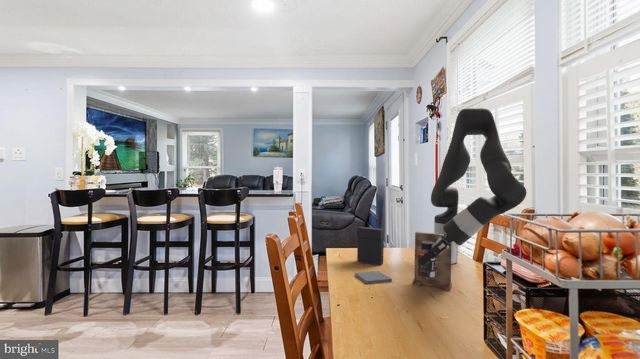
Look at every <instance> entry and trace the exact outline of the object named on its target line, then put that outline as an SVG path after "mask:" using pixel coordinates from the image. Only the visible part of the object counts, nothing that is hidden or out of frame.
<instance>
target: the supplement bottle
mask: <svg viewBox="0 0 640 359" xmlns="http://www.w3.org/2000/svg"><path fill="white" fill-rule="evenodd" d="M433 244H434V242H430V241H422V242H421V246H422V247H421V248H420V249H419V250H418V259H419V258H421V257H422V256H423V255H424V254H425V253H426V252H427V251H429V250H430V249H431V246H432V245H433ZM431 252H432V253H433V254H435V253H436V252H435V251H434V250H432V251H431ZM437 261H438V255H437V256H436V257H435V258H433V259H430V260H429V261H428V262H427V263H426V264H424V265H421V264H420V263H419V262H418V277H419V278H421V279H425V280H435V279H436V278H437Z"/></svg>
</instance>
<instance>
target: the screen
mask: <svg viewBox="0 0 640 359" xmlns="http://www.w3.org/2000/svg"><path fill="white" fill-rule="evenodd" d="M441 235H443V236H444V234H434V232H433V233H431V232H420V231H416V232H415V233H414V269H413V270H414V271H413V272H414V273H413V274H414V276H413V280H412V285H413V286H421V285H423V286H424V285H425V286H431V287H437V288H442V290H444V291H445V290H446V291H451V290H452V286H453V282H452V264H451V255H452V242H451V245H450V247H449V248H448V249H446V250H444V251H443V252H442V253H441V254H439V255H438V261H437V278H436V279H435V280H425V279H421V278H419V277H418V250H419V249H420V248H421V247H422V246H421V242H422V241H430V242H435V241H436V240H437V239H438V238H439V237H440V236H441Z"/></svg>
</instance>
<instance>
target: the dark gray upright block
mask: <svg viewBox="0 0 640 359" xmlns="http://www.w3.org/2000/svg"><path fill="white" fill-rule="evenodd" d="M356 237H357V249H356V250H357V258H356V261H357V262H359V263H363V264H371V265H376V266H382V265H383V264H384V247H385V246H384V244H385V243H384V241H385V240H384V239H385V230H384V229H383V228H377V227H365V226H358V227H357V230H356Z"/></svg>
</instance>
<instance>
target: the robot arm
mask: <svg viewBox="0 0 640 359" xmlns="http://www.w3.org/2000/svg"><path fill="white" fill-rule="evenodd" d="M481 135H482V136H483V137H484V138H485V140H484V142H483V145H482V147H481V149H480V153H479V159H480V163H481V164H482V166H483V169H484V172H485V173H486V180H487V185H488V187H489V190H490V191H491V193H492V194H494V196H491V197H490V198H487V197H484V196H481V197H478V198H476V199H475V200H473V202H471V203H470V204H469V205H468V206H467V207H465V208H464V209H463V210H461V211H458V210H459V200H460V199H459V197H460V196H459V191H458V188H457V187H456V186H452V185H453V184H454V183H456V182H457V181H459V180H460V179H462V178H463V177H464V176H465V174H466V173H467V170H468V168H469V166H470V163H471V155H470V152H469V151H468V149H467V147H466V145H465V143H464V142H465V138H466V137H467V136H481ZM501 143H502V142H501V140H500V135H499V132H498V128H497V125H496V121H495V117H494V116H493V113H492V111H491V110H490V109H489V108H485V107H476V108H475V107H472V108H468V107H467V108H463V109H460V111H459V112H458V114H457V116H456V120H455V123H454V127H453V131H452V136H451V141H450V143H449V146H448V149H447V152H446V154H445V157H444V159H443V163H442V165H441V168H440V172H439V176H438V178H437V180H436V182H435V184H434V186H433V188H432V191H431V194H430V202H431V205H432V206H434V207H435V208H446V210H445V211H444V212H441V213H440V214H436V215H435V216H434V223H433V224H434V226H433V227H434V228H433V230H434V231H433V233H434V234H444V236H443V235H441V236H440V237H439V238H438V239H437V240H436V241H435V242H434V244H433V245H432V246H431V249H430V250H429V251H427V252H426V253H425V254H424V255H423V256H422V257H421V258H419V259H418V262H419V263H420V264H421V265H424V264H426V263H427V262H428V261H429V260H430V259H433V258H435V257H436V256H437V255H439V254H441V253H442V252H443V251H444V250H446V249H448V248H449V247H450V245H451V242H452V255H451V265H453V264H456V263H459V262H458V261H459V260H458V258H459V257H458V256H459V254H458V253H459V246H462V245H463V244H465V242H467V241H468V240H470V239H471V238H473V236H475V235H476V234H477V233H479V231H481V229H482V228H483V227H484V226H486V225H487V224H488V223H490V222H491V221H492V220H493V219H494V218H495V217H497V216H499V215H503V214H504V213H506V212H509V211H510V210H513V209H515V208H516V207H518V206H519V205H520V204H521V203H523V202H524V200H525V198H526V197H527V189H526V187H525V186H524V184H522V183H521V182H520V181H519V180H518V179H517V178H516V177H515V176H514V174H513V173H512V170H513V169H512V164H511V163H510V161H509V158H508V157H507V154H506V153H505V151H504V149H503V146H502V144H501ZM432 250H434V251H435V252H436V253H435V254H433V253H432V252H431V251H432Z"/></svg>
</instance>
